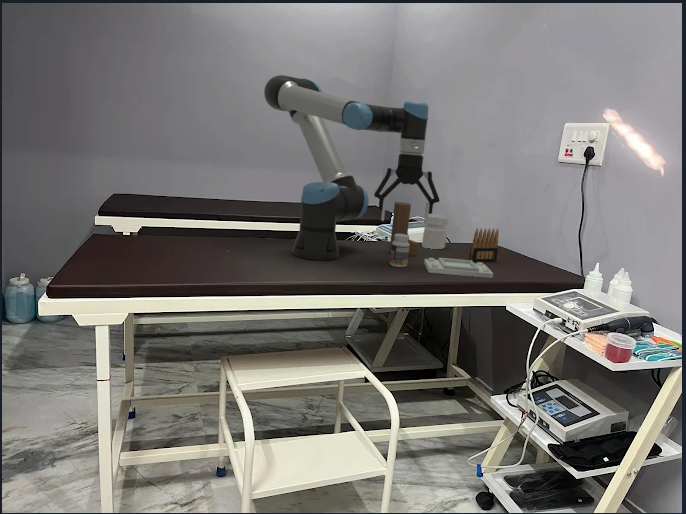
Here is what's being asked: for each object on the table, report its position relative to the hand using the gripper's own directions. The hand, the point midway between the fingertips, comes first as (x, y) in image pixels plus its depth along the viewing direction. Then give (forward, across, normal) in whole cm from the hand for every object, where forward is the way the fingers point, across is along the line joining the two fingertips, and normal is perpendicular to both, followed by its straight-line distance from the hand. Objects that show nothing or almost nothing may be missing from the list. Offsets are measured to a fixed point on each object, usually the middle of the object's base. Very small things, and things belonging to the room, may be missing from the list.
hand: (403, 222), depth 175 cm
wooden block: (+14, +3, +17) cm, 22 cm away
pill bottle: (+14, 0, 0) cm, 14 cm away
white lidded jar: (+14, +16, +34) cm, 40 cm away
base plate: (+14, +19, 0) cm, 23 cm away
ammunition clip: (+14, +31, +17) cm, 38 cm away
